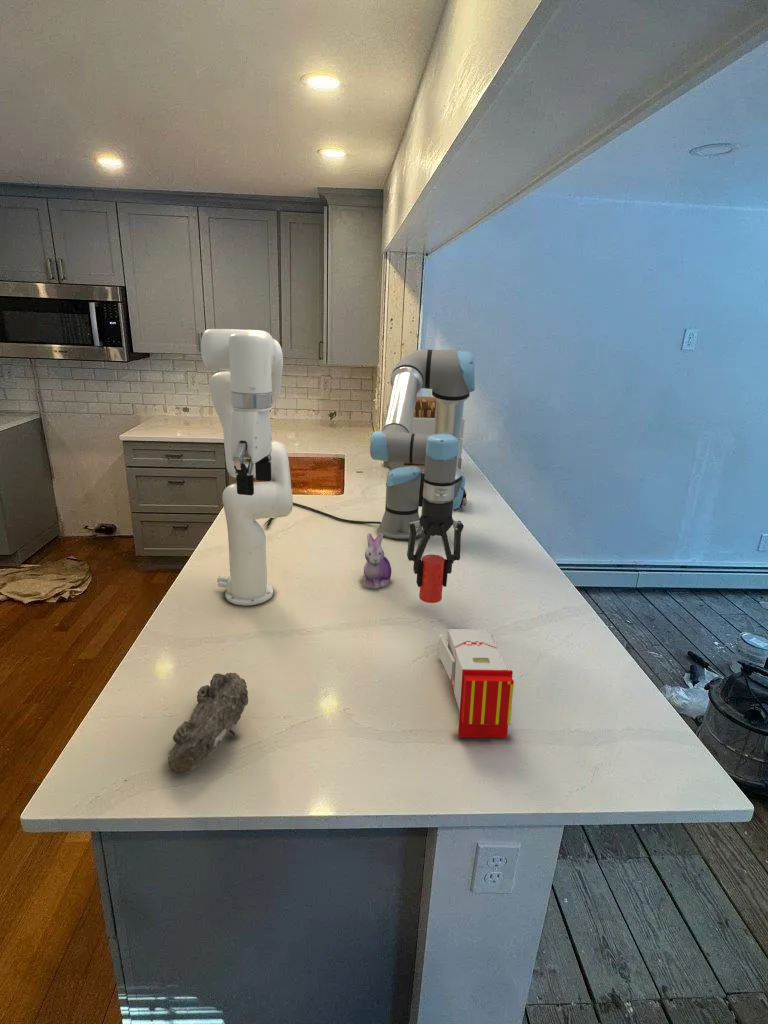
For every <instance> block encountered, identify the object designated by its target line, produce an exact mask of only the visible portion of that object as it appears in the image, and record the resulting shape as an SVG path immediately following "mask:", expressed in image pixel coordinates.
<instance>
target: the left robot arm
mask: <svg viewBox="0 0 768 1024" xmlns="http://www.w3.org/2000/svg"><path fill="white" fill-rule="evenodd" d="M200 354H201V359H202V362H203V364H204V366H205V368H206V369H207V370H210V371H211V370H212V371H213V370H214V371H220V372H216V373H214V374H213V375H212V376H211V377H210V380H209V393H210V397H211V401H212V404H213V407H214V409H215V412H216V414H217V417H218V418H219V421H220V423H221V427H222V432H223V444H224V445H223V447H224V458H225V459H224V460H225V466H226V470H227V473H228V475H229V476H230V477H232V478H235V479H236V483H232V484H229V485H227V486H226V487H225V488H224V489H223V491H222V498H221V499H222V505H223V511H224V516H225V521H226V527H227V529H226V530H227V539H228V540H227V542H228V557H229V575H230V576H223V575H218V576H217V578H216V580H217V587H219V588H225V589H226V590H225V593H224V596H225V599H226V600H227V601H228V603H229V602H230V603H231V604H233V605H236V606H237V605H238V606H257V605H260V604H263V603H265V602H267V601H269V600H270V599H271V598H272V597H273V595H274V588H273V587H272V585H271V584H270V583H268V571H267V569H268V568H267V537H266V536H267V535H266V532H265V530H264V528H263V527H262V526H261V524H260V523H259V522H258V521H257V520H261V519H263V520H264V519H270V518H273V519H278V518H285V517H288V516H289V515H290V514H291V513H292V511H293V508H294V507H293V506H294V505H293V503H294V502H293V501H294V499H293V488H292V480H291V469H290V460H289V454H288V450H287V448H286V446H285V444H284V443H282V442H281V441H277V440H272V439H273V438H272V424H271V423H272V422H271V413H270V411H272V410H273V405H274V404H276V403H277V402H278V401H279V399H280V396H281V390H282V389H281V388H282V378H283V372H284V371H283V370H284V354H283V348H282V346H281V345H280V343H279V342H278V341H277V340H276V339H275V338H273V336H272V335H271V333H269V332H268V331H265V330H260V329H241V328H240V329H238V328H208V329H205V330H204V331H203V333H202V335H201V339H200ZM254 479H255V480H256V481H254Z"/></svg>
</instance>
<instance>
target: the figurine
mask: <svg viewBox="0 0 768 1024" xmlns="http://www.w3.org/2000/svg"><path fill="white" fill-rule="evenodd" d="M366 536H367V537H366V538H367V547H366V549H365V552H364V558H365V560H366V561H365V564H364V566H363V578H362V582H363V585H364V587H365V588H368V589H379V588H383V587H386V586H387V585H388V584H389V583H390V582H391V577H392V566H391V562H390V560H389V559H388V558H387V557H386V556H385V551H384V549H383V547H382V543H383V538H384V536H383V533H382V532H381V533H380V532H378V534H377V536H376V538H375V539H374V536H373V535H372V533H371V532H369V533H367V535H366Z"/></svg>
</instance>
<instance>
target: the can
mask: <svg viewBox="0 0 768 1024" xmlns="http://www.w3.org/2000/svg"><path fill="white" fill-rule="evenodd" d="M445 559H446V558H444V557H443V556H441V555H438V554H433V553H432V554H431V553H430V554H425V555H422V557H421V561H422V563H423V566H422V580H421V587H419V593H418V595H419V596H418V598H419V599H420V601H422V602H424V603H427V604H437V603H440V602H441V601H442V598H443V588H444V587H443V577H444V566H445Z"/></svg>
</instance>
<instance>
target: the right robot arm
mask: <svg viewBox="0 0 768 1024" xmlns="http://www.w3.org/2000/svg"><path fill="white" fill-rule="evenodd" d="M475 379H476V377H475V357H474V354H473V353H472V352H470V351H463V350H459V349H457V350H453V349H429V348H422V349H416V350H414V351H412V352H409V353H408V354H406V355H405V356H403V357H402V358H401V359H400V360H399V361H398V362H397V363H396V365H395V366H394V368H393V369H392V372H391V376H390V386H391V390H390V394H389V399H388V403H387V405H388V407H387V406H386V411H385V416H384V420H383V424H382V429H381V430H375V431H373V432H372V434H371V436H370V441H369V442H370V443H369V454H370V458H371V459H372V460H374V461H381V462H384V461H385V462H404V463H416V464H425V466H424V472H422V469H421V468H420V467H419V466H418V467H417V466H404V467H400V468H396V469H393V470H391V471H390V470H389V471H388V473H387V475H386V482H385V487H386V488H385V504H384V505H385V507H384V508H385V509H384V513H383V515H382V519H381V521H368V520H367V521H365V520H353V519H346V518H342V517H338V516H336V515H332V514H329V513H327V512H324V511H321V510H318V509H317V508H313V507H311V506H307V505H303V504H300V503H297V502H293V506H296V507H300V508H304V509H306V510H310V511H312V512H316V513H318V514H321V515H324V516H326V517H329V518H332V519H335V520H338V521H341V522H345V523H351V524H352V523H353V524H366V525H367V524H369V525H371V524H373V525H378V533H381V532H382V533H383V538H384V537H385V538H387V539H389V540H395V541H408V544H407V551H406V556H407V559H408V561H410V562H413V569H412V570H413V573H414V574H415V575H416V585H417V588H420V587H421V580H422V566H423V563H422V557H423V556H424V552H425V550H426V548H427V545H428V542H429V540H430V539H431V537H434V536H438V537H440V538H441V541H442V545H443V549H444V554H445V557H446V558H444V559H445V566H444V577H443V588H446V587H447V584H448V575H449V574H452V571H453V564H454V563H455V561H457V562H458V561H460V560H461V547H462V545H461V544H462V532H463V529H464V524H463V522H462V521H461V520H454V518H453V511H454V509H455V510H457V509H459V508H460V507H459V506H460V504H461V501H462V497H463V492H464V489H465V486H466V477H465V476H463V473H462V469H461V470H460V469H459V468H458V460H459V449H460V439H462V438H461V428H462V419H463V416H464V415H463V414H464V404H465V401H467V400H468V399H469V398H470V394H471V393H473V392H475V390H476V380H475ZM421 389H427V390H431V397H434V398H435V399H436V414H435V429H434V435H426V434H412V433H411V427H412V422H413V416H414V410H415V404H416V399H417V396H418V394H419V392H420V391H421ZM420 507H421V514H420V515H419V508H420ZM458 507H459V508H458ZM450 528H452V529H453V551H452V550H451V546H450V542H449V537H448V533H447V532H448V531H449V530H450ZM418 538H420V539H419V543H418V545H417V548H416V550H415V547H416V539H418ZM452 552H453V553H452Z"/></svg>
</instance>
